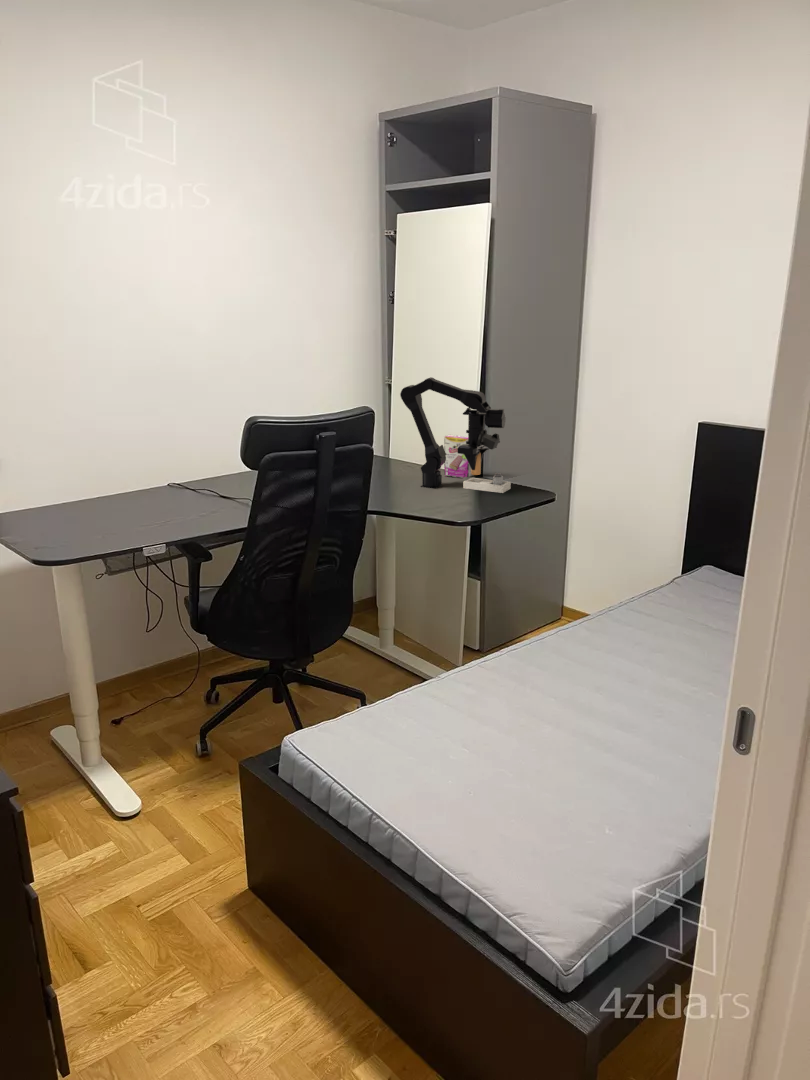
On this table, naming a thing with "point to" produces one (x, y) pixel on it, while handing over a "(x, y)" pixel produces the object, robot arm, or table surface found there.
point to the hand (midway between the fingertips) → (475, 468)
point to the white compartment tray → (486, 485)
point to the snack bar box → (455, 457)
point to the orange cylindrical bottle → (477, 465)
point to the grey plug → (498, 479)
